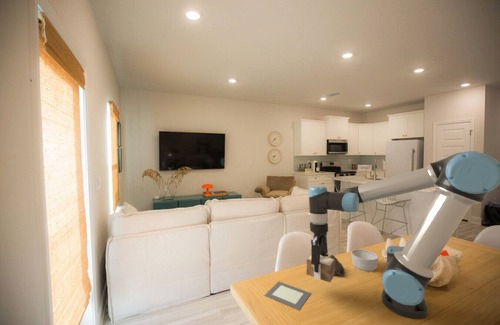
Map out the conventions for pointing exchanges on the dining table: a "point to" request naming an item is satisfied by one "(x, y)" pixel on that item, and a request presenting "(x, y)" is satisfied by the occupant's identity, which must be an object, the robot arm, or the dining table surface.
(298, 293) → the mat
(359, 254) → the ramekin
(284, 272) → the dining table surface
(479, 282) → the dining table surface
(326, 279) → the card box
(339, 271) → the dark grey rock
